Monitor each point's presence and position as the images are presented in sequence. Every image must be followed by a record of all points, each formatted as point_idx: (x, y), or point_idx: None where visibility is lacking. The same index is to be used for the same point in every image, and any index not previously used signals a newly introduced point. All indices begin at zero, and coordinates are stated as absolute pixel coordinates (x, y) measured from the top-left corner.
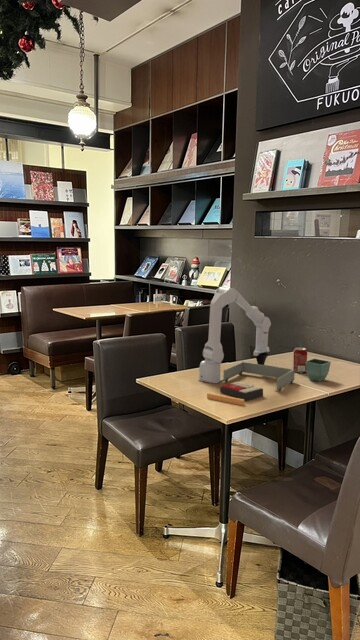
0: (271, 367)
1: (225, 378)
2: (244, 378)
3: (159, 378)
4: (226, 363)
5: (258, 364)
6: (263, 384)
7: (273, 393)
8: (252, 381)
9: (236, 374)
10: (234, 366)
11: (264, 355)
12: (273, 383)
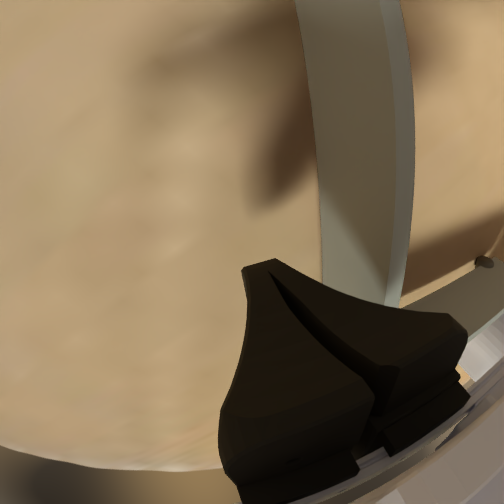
0: (397, 68)
1: (499, 262)
2: (413, 245)
3: (466, 375)
4: (186, 470)
5: (404, 271)
6: (456, 74)
7: (499, 2)
8: (444, 164)
9: (418, 303)
10: (477, 326)
11: (462, 335)
12: (408, 16)
